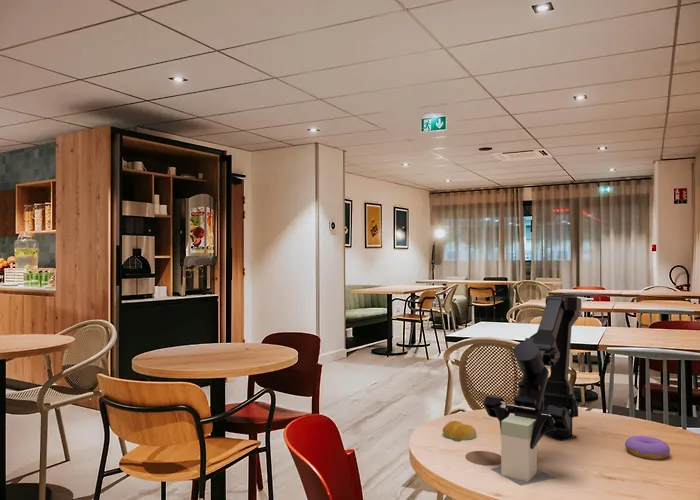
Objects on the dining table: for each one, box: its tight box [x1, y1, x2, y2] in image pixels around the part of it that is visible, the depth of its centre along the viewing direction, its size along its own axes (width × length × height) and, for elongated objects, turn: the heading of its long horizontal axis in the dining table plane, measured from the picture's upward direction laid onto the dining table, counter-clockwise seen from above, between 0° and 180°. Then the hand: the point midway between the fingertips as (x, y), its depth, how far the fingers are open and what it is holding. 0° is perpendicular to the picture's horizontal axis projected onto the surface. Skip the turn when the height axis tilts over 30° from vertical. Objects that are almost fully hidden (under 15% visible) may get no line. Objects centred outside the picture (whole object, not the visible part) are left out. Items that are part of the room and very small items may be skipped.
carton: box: [500, 414, 538, 481], centre depth 125 cm, size 6×6×12 cm
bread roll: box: [442, 420, 477, 442], centre depth 152 cm, size 8×9×4 cm
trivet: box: [465, 450, 501, 466], centre depth 134 cm, size 9×9×1 cm
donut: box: [624, 435, 671, 460], centre depth 139 cm, size 10×9×5 cm
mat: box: [490, 466, 557, 486], centre depth 125 cm, size 10×10×1 cm
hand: (516, 445), depth 123 cm, fingers closed on carton, 6 cm apart
